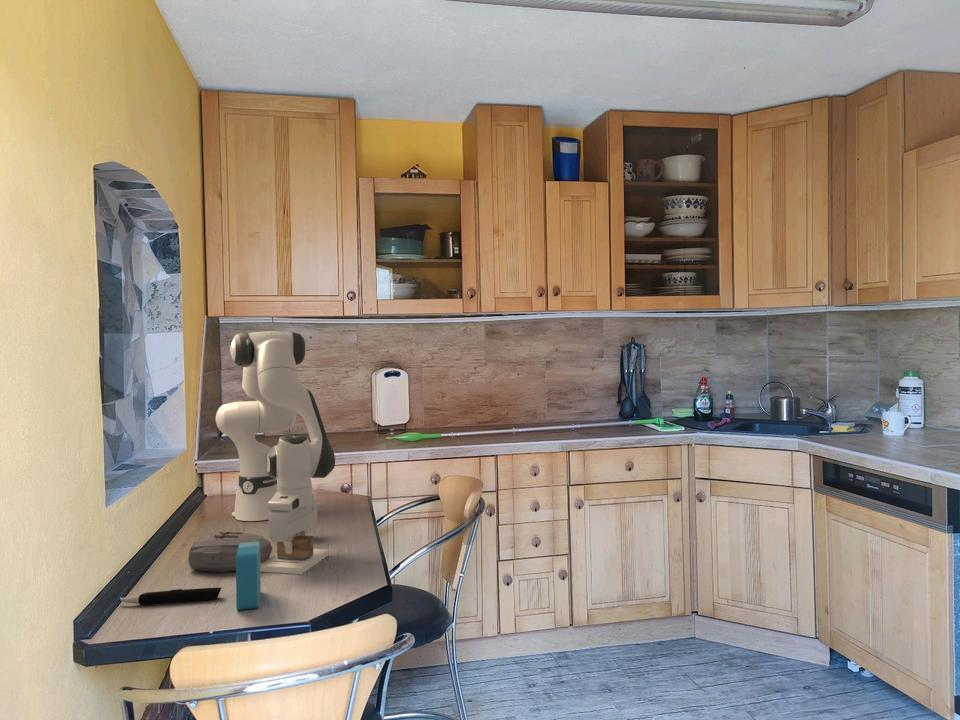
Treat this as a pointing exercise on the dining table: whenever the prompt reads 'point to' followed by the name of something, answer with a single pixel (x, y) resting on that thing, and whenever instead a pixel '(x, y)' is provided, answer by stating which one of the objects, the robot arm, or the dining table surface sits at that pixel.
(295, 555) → the block
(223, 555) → the grey rounded bag
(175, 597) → the utility knife
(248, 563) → the teal arch block
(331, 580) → the dining table surface
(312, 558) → the board
